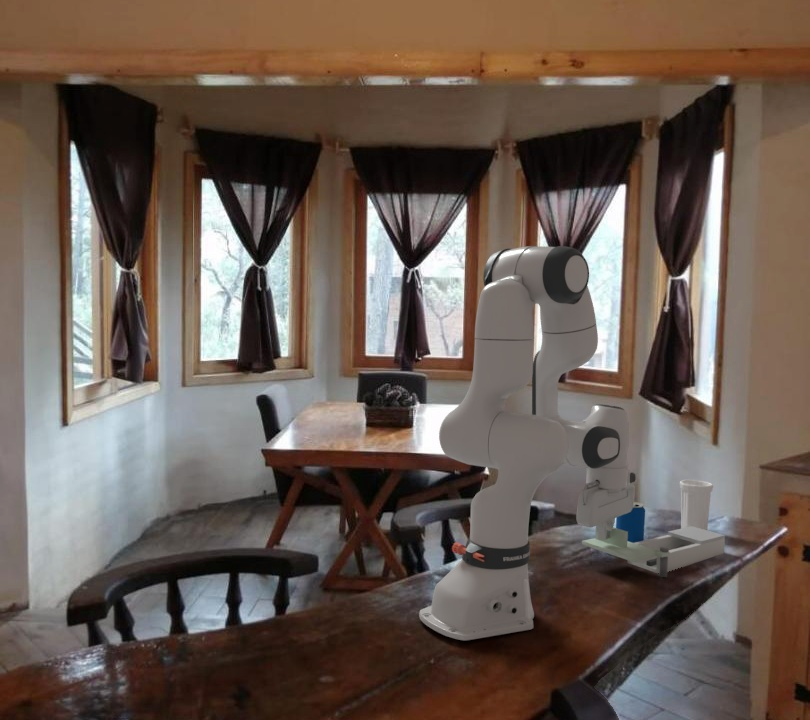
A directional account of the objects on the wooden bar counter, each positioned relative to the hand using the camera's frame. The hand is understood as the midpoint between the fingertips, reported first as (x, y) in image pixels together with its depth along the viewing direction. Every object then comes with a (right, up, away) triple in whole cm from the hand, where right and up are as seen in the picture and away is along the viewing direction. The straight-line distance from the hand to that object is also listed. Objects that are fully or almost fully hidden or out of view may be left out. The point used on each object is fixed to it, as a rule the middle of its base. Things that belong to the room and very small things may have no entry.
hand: (604, 538), depth 165 cm
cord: (+20, -6, +8) cm, 22 cm away
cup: (+31, -6, +27) cm, 42 cm away
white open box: (+19, -7, +8) cm, 22 cm away
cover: (+5, -2, 0) cm, 5 cm away
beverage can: (+9, -7, +13) cm, 17 cm away
